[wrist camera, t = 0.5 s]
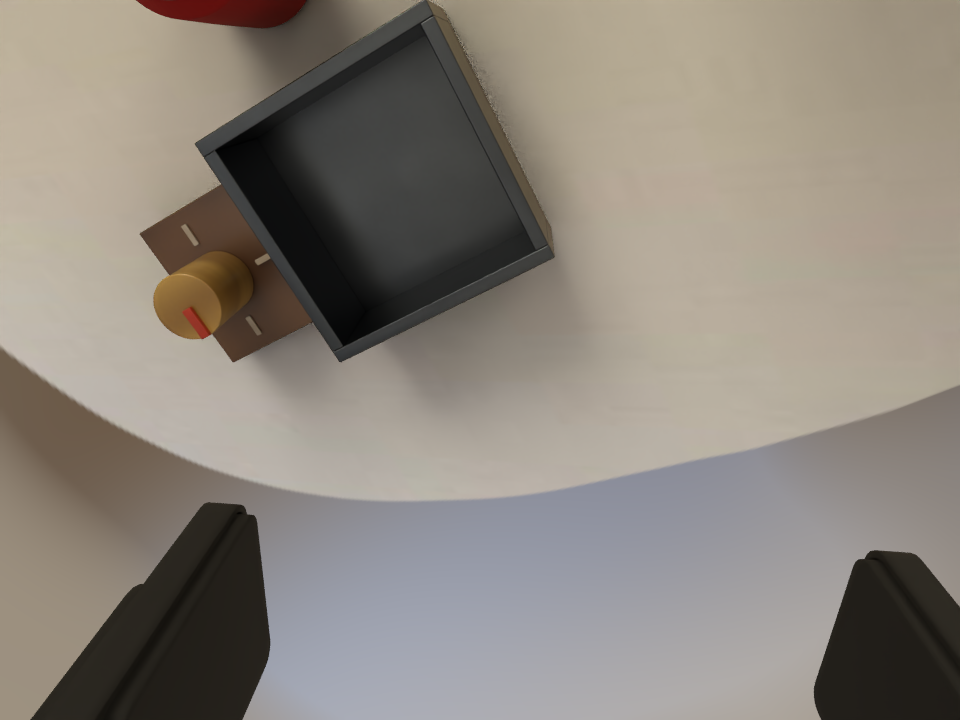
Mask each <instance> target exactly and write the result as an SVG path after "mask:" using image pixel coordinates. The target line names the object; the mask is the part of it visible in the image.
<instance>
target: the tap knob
mask: <svg viewBox="0 0 960 720" xmlns="http://www.w3.org/2000/svg"><path fill="white" fill-rule="evenodd" d="M252 293H253V279H252V275H251V273H250V271H249V269H248V268H247V266H246V265H245V264H244V263H243V262H242V261H241V260H240V259H239V258H237V257H236V256H234V255H232V254H229V253H227V252H222V251H213V252H209V253H206V254H204V255H202V256H201V257H199V258H197V259H196V260H194V261H192V262H191V263H189V264H187V265H186V266H184V267H182V268H181V269H179V270H178V271H176V272H174V273H173V274H171V275H169V276H168V277H166V278H165V279H163V280H162V281H161V282H160V283H159V284H158V286H157V288H156V290H155V293H154V308H155V311H156V314H157V316H158V318H159V319H160V321H161V322H162V323H163V325H164V326H165V327H166V328H167V329H169V330H170V331H171V332H173V333H174V334H176V335H178V336H181V337H184V338H188V339H204V338H206V337H208V336H209V335H211V334H212V333H214V332H215V331H216V330H217V329H218V328H219V327H220V326H222V325H223V324H224V323H225V322H226V321H227V320H228V319H230V318H231V317H232V316H233V315H234V314H235V313H237V312H238V311H239V310H240V309H241V308H242V307H243V306H245V305H246V304H247V303H248V301H249V300H250V298H251V296H252Z"/></svg>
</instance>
